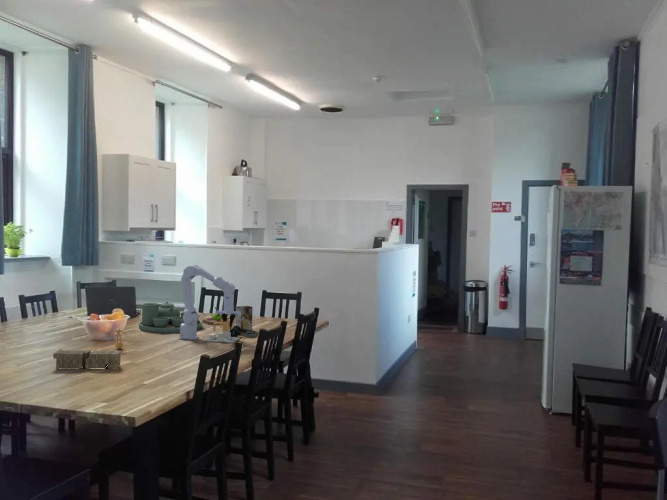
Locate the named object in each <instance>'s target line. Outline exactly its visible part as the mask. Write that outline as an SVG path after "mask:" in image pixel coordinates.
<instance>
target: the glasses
mask: <svg viewBox="0 0 667 500" xmlns="http://www.w3.org/2000/svg"><path fill="white" fill-rule="evenodd" d="M222 321H223V319H220V322H214V324H213V325H212V326H213V327H212V328H213V331H214V332H216V325H215V324H220V325H219V326H220V328H222V332H223V331H228V330H229V331H230V329H232V328H234V326H235V320H234V321H233V324H232V327H230V319H227V321H225V322H222ZM222 324H223V325H222Z"/></svg>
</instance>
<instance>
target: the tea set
mask: <svg viewBox="0 0 667 500" xmlns="http://www.w3.org/2000/svg"><path fill="white" fill-rule="evenodd" d="M183 316H184V311H183V312H181V311H180V309H179V308H178V307H176V306H175V304H174V303H172V302H171V303H170V302H168V301H165V302H162V303H157V302H143V303H141V322H139V323H138V328H139V329H140V330H141V331H143V332H149V333H153V332H154V333H157V334H158V333H159V334H173V333H175V334H176V333H179V334H180V326H181V324H182V323H184V321H183ZM198 316H199V318H200V315H199V314H198ZM199 318H198V320H197V330H199V329H201V328H202V323H203V322H202V320H199ZM154 333H153V334H154Z"/></svg>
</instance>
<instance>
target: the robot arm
mask: <svg viewBox="0 0 667 500" xmlns="http://www.w3.org/2000/svg"><path fill="white" fill-rule="evenodd" d="M200 276H201V277H203V278H205V279H207V281H210V282H211V283H212V285H213V286H214V287H216V288H218V289H220V290H221V291H222V292H223V310H224V311H222V310H221V311H220V310H219V311H217V310H215V311H216V313H215V314H220V315H221V317H222V319H223V321H224V322H225V321H227V318H230V327H232V324H233V321H234V322H235V319H236V315H241V312H237V311H236V310H234V303H235V301H234V299H235V297H234V296H235V291H236V286H235V285H234V283H232V282H231V283H229V281H226V280H225V279H223V277H222V276H217V277H216V276H215V275H213V274H212V273H210V272H208V271H207V270H206V269H204V268H203V267H201V266H199V265H198V264H194V265H193V264H192V265H187V266H185V268H184V269H183V273H182V275H181V278H180V283H181V289H182V296H183V304H184V310H183V312H184V316H183V321H184V323H182V324H181V326H180V332H179V340H194V341H195V340H196V339H198V338H200V336H198V335H197V332H198V331H197V330H198V329H197V320H199V319H198V318H200V317H199V316H200V315H199V314H198V312H197V309H196V308H195V303H194V296H193V289H192V284H191V283H192V280H193V279H194V278H195V277H200ZM198 315H199V316H198ZM228 316H229V317H228Z"/></svg>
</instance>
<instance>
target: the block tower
mask: <svg viewBox="0 0 667 500" xmlns="http://www.w3.org/2000/svg"><path fill="white" fill-rule="evenodd" d="M121 353H122V352H121V351H120V349H117V350H109V349H108V350H104V349H103V350H102V349H101V350H97V349H95V350H93V351H91V350H89V349H86V350H85V349H84V350H83V349H82V350H81V349H74V350H73V349H72V350H71V349H67V350H65V349H64V350H63V349H58V350H56V351H55V352H54V353H53V354H52V359H53V360H54V359H55V360H56V363H55V369H56V368H82V367H85V368H105V367H106V366H107V365H108V367H107V369H108V368H118V367H119V366H120V367H121V355H122V354H121ZM120 367H119V368H120ZM85 368H84V369H85ZM119 368H118V369H119ZM105 369H106V368H105Z"/></svg>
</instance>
